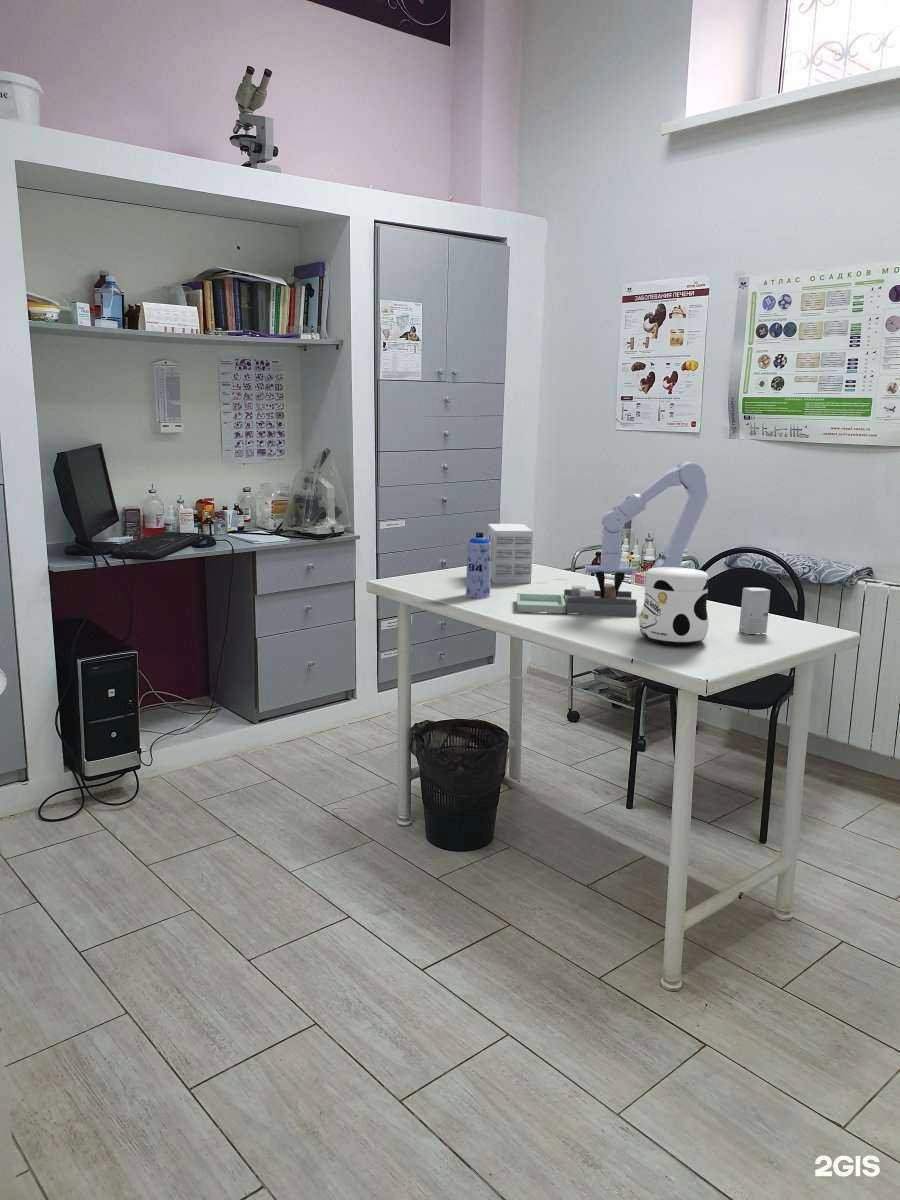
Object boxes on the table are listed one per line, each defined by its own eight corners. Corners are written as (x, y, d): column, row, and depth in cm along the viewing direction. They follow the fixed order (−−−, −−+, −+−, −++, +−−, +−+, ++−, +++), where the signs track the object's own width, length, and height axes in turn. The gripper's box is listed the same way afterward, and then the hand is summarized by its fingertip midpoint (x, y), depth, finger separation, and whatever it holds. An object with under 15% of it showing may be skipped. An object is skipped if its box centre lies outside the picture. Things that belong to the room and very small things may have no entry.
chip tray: (562, 602, 278) (563, 594, 277) (565, 614, 262) (566, 606, 262) (516, 600, 279) (517, 593, 278) (517, 612, 263) (517, 604, 262)
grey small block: (584, 595, 273) (585, 586, 273) (585, 598, 270) (586, 588, 269) (571, 595, 274) (571, 585, 273) (572, 598, 270) (572, 588, 269)
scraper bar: (611, 596, 273) (612, 583, 272) (615, 603, 264) (616, 589, 263) (601, 596, 273) (602, 583, 272) (604, 602, 264) (605, 589, 263)
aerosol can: (461, 597, 283) (463, 533, 278) (470, 592, 290) (472, 530, 286) (485, 599, 280) (487, 535, 276) (493, 594, 287) (495, 531, 283)
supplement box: (485, 574, 322) (487, 523, 318) (522, 574, 323) (524, 523, 319) (493, 583, 305) (494, 530, 301) (532, 583, 306) (534, 530, 303)
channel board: (629, 605, 276) (630, 590, 275) (636, 616, 261) (637, 600, 261) (563, 602, 277) (564, 588, 276) (566, 613, 263) (567, 598, 262)
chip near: (592, 599, 268) (593, 589, 268) (593, 602, 264) (594, 592, 264) (579, 599, 269) (579, 589, 268) (580, 602, 265) (580, 591, 264)
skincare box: (746, 635, 242) (750, 590, 239) (737, 631, 246) (741, 587, 244) (767, 634, 243) (771, 590, 241) (758, 630, 248) (762, 586, 245)
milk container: (625, 639, 235) (629, 571, 231) (661, 629, 247) (666, 563, 243) (683, 653, 223) (689, 581, 219) (719, 641, 235) (725, 573, 231)
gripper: (634, 550, 269) (631, 595, 272) (585, 549, 270) (582, 594, 273) (637, 554, 262) (634, 600, 265) (587, 553, 263) (584, 598, 266)
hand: (608, 597), depth 268 cm, fingers closed on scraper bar, 3 cm apart
